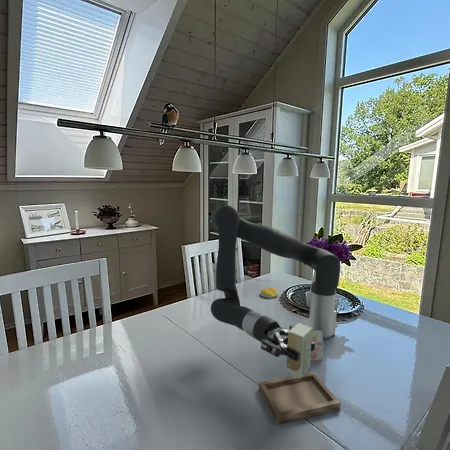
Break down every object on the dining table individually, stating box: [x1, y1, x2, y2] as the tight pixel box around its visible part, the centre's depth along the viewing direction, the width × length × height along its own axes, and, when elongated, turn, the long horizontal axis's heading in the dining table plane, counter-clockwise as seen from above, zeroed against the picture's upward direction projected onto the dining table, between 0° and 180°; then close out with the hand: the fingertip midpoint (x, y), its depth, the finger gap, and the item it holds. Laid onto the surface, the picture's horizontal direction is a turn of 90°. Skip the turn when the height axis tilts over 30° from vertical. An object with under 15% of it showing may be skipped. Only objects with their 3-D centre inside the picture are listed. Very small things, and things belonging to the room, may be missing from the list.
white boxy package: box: [310, 331, 324, 362], centre depth 101 cm, size 4×7×10 cm, turn 94°
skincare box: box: [285, 322, 313, 378], centre depth 81 cm, size 6×4×12 cm
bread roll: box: [260, 286, 279, 299], centre depth 155 cm, size 8×9×4 cm
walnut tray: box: [258, 371, 341, 425], centre depth 83 cm, size 18×13×2 cm
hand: (306, 352), depth 79 cm, fingers closed on skincare box, 6 cm apart
